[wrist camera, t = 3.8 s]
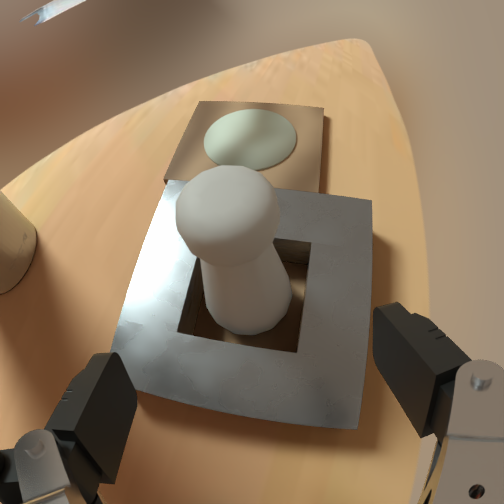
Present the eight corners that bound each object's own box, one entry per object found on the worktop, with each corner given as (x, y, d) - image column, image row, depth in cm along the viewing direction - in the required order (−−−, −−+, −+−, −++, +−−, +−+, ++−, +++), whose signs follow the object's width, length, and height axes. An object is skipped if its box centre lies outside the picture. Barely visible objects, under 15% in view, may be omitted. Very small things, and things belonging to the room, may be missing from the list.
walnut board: (166, 185, 30) (162, 177, 29) (201, 107, 35) (199, 100, 34) (317, 199, 28) (318, 191, 26) (323, 114, 33) (323, 106, 32)
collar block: (125, 384, 21) (103, 378, 18) (179, 204, 28) (168, 179, 25) (345, 426, 19) (357, 429, 16) (362, 225, 26) (371, 200, 23)
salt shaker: (273, 257, 25) (267, 128, 14) (302, 324, 23) (327, 228, 11) (202, 283, 25) (141, 169, 13) (225, 353, 22) (167, 285, 11)
